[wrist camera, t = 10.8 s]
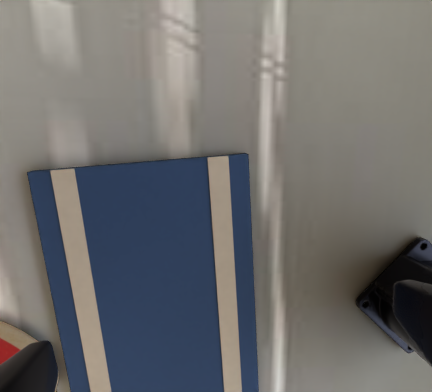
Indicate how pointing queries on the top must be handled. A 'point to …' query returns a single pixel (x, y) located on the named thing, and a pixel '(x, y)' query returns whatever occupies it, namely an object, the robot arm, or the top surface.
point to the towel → (152, 273)
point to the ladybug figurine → (13, 342)
